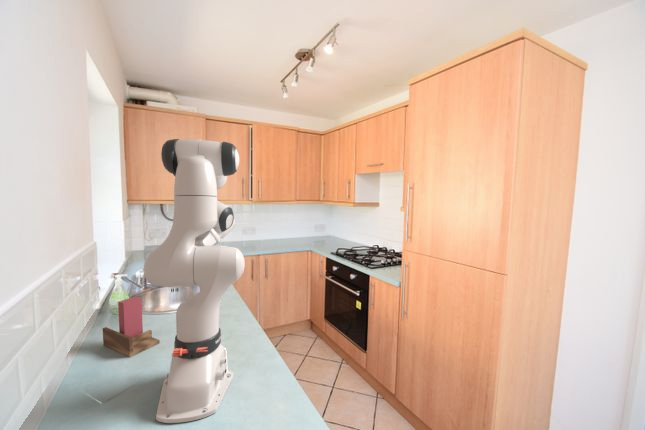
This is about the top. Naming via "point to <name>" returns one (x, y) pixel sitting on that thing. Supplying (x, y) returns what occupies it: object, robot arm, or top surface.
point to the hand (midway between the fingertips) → (179, 257)
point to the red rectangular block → (130, 316)
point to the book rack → (128, 342)
